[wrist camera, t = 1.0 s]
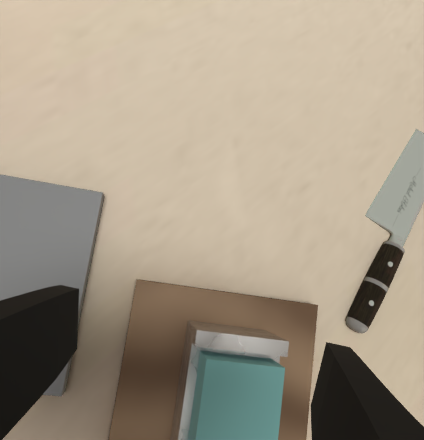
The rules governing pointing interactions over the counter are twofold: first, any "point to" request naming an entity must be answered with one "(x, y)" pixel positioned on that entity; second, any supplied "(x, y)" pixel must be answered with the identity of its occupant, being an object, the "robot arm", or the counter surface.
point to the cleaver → (391, 229)
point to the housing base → (222, 343)
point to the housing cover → (236, 398)
